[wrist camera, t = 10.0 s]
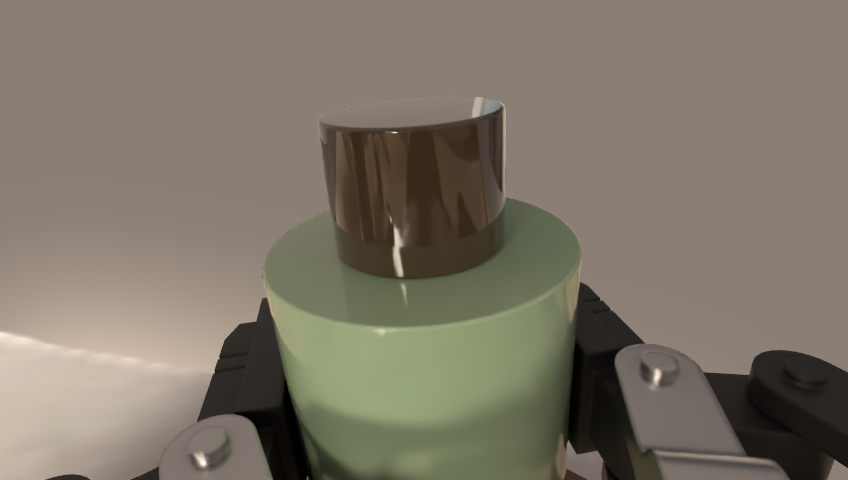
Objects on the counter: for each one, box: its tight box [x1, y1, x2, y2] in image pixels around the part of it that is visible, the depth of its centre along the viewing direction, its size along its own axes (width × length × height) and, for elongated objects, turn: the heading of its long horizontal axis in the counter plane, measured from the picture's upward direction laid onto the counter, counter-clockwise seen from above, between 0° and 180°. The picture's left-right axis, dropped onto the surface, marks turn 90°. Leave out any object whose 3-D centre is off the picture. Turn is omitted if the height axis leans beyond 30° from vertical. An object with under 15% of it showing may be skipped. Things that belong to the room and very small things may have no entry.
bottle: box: [262, 96, 582, 480], centre depth 9 cm, size 5×5×12 cm
